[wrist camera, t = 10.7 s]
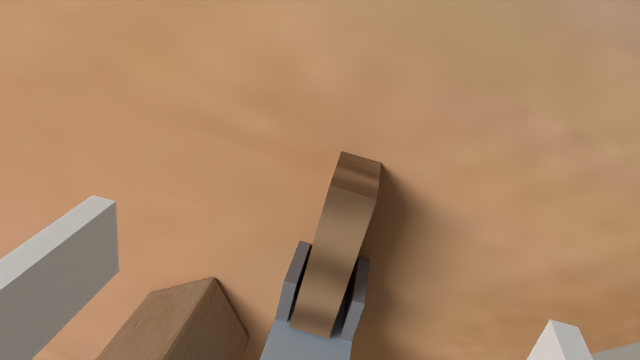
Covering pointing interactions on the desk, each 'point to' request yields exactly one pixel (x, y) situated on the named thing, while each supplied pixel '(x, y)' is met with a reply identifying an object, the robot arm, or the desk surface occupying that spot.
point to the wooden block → (181, 327)
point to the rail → (336, 243)
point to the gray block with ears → (306, 348)
